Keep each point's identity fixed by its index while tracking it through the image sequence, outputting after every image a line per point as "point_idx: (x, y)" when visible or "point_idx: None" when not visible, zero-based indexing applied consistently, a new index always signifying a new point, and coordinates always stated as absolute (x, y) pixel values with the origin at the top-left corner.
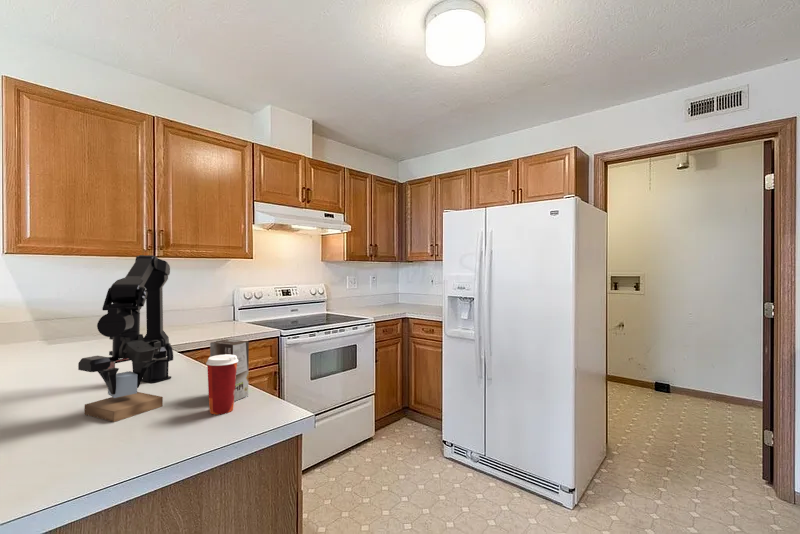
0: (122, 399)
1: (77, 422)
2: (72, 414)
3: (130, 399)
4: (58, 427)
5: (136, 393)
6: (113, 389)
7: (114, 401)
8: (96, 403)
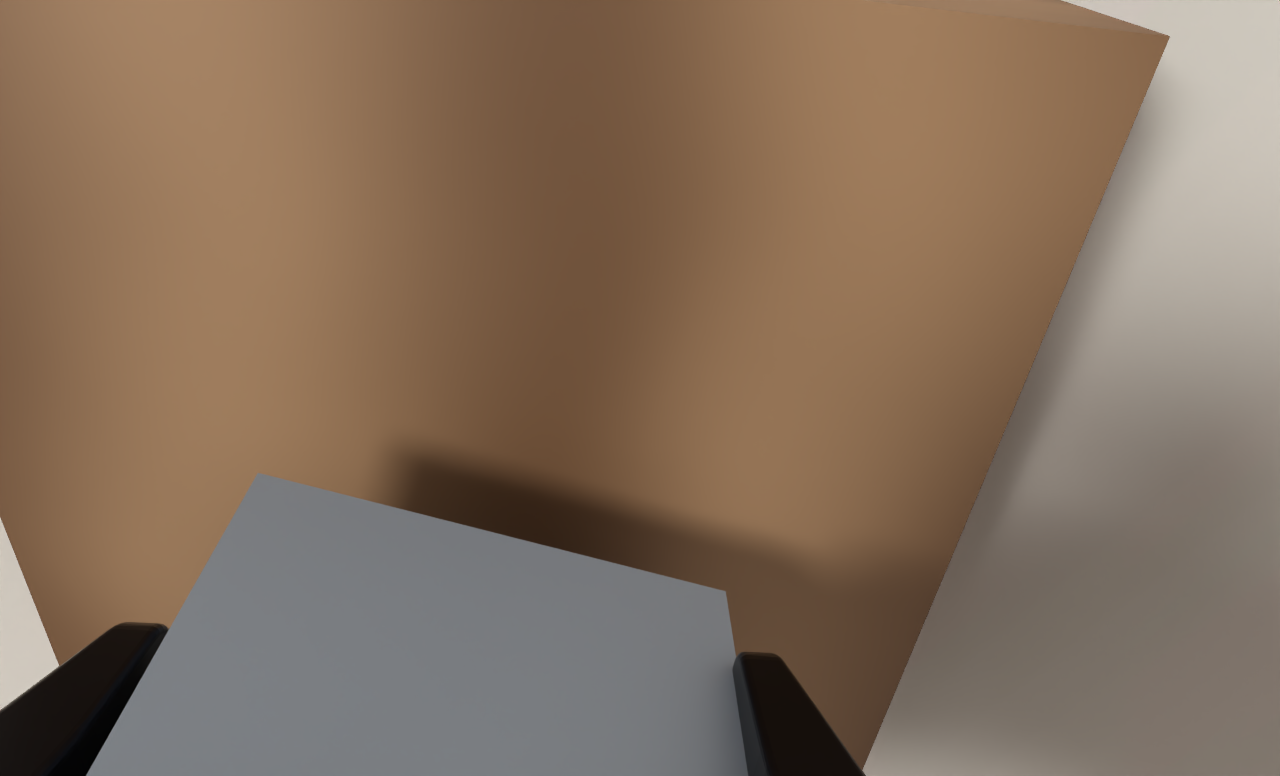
0: None
1: (1081, 517)
2: None
3: (399, 468)
4: (1256, 552)
5: None
6: (835, 760)
7: None
8: None
